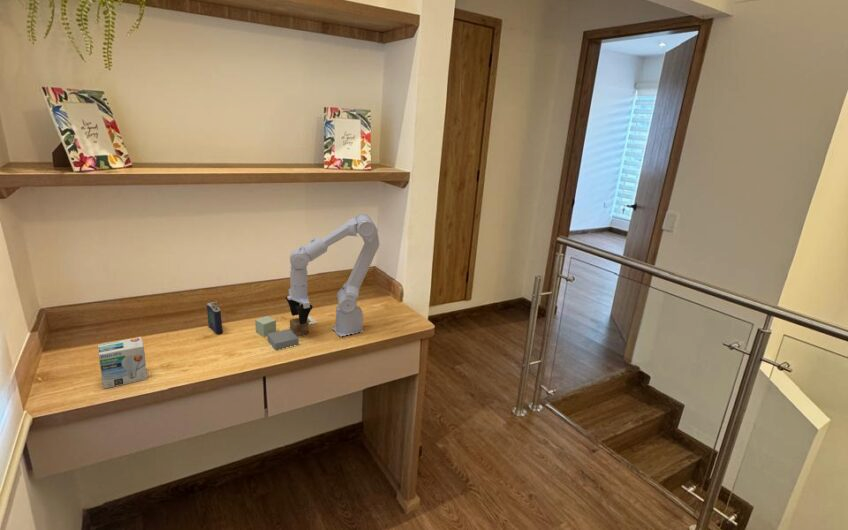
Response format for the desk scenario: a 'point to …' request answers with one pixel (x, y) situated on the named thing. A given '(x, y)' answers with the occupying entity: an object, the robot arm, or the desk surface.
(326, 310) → the desk surface
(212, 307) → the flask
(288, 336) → the slate slab
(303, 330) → the walnut block
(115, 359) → the light bulb box
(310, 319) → the placard
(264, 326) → the sage block
